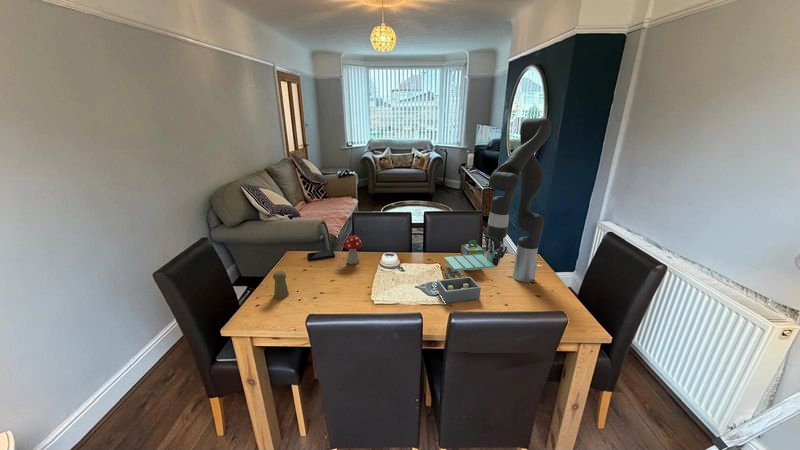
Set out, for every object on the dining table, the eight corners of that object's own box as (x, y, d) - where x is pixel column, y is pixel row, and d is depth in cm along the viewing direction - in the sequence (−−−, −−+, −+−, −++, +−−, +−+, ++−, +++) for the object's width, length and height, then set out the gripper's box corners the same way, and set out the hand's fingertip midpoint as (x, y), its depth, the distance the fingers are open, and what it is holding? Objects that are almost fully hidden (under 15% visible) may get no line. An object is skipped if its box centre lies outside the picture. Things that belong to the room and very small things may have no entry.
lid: (491, 255, 137) (492, 248, 136) (504, 266, 127) (505, 259, 126) (443, 258, 132) (444, 251, 131) (454, 270, 122) (454, 263, 121)
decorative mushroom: (359, 257, 178) (359, 232, 173) (364, 264, 171) (364, 237, 166) (341, 260, 174) (340, 234, 169) (346, 267, 167) (345, 240, 162)
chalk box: (466, 272, 165) (468, 245, 160) (459, 264, 173) (461, 238, 168) (482, 270, 167) (485, 244, 162) (475, 263, 175) (477, 237, 170)
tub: (469, 288, 149) (470, 276, 148) (479, 299, 140) (480, 287, 138) (436, 292, 146) (437, 280, 144) (444, 304, 136) (445, 291, 134)
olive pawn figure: (280, 300, 137) (277, 277, 133) (271, 296, 140) (268, 273, 136) (292, 294, 141) (289, 271, 138) (282, 290, 144) (280, 267, 141)
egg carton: (463, 283, 155) (464, 275, 153) (447, 283, 154) (448, 275, 153) (458, 272, 165) (459, 265, 163) (443, 272, 164) (444, 265, 163)
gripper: (516, 229, 121) (510, 271, 126) (497, 217, 134) (492, 256, 139) (498, 230, 119) (492, 272, 124) (481, 218, 132) (476, 257, 137)
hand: (492, 263), depth 132 cm, fingers closed on lid, 3 cm apart
